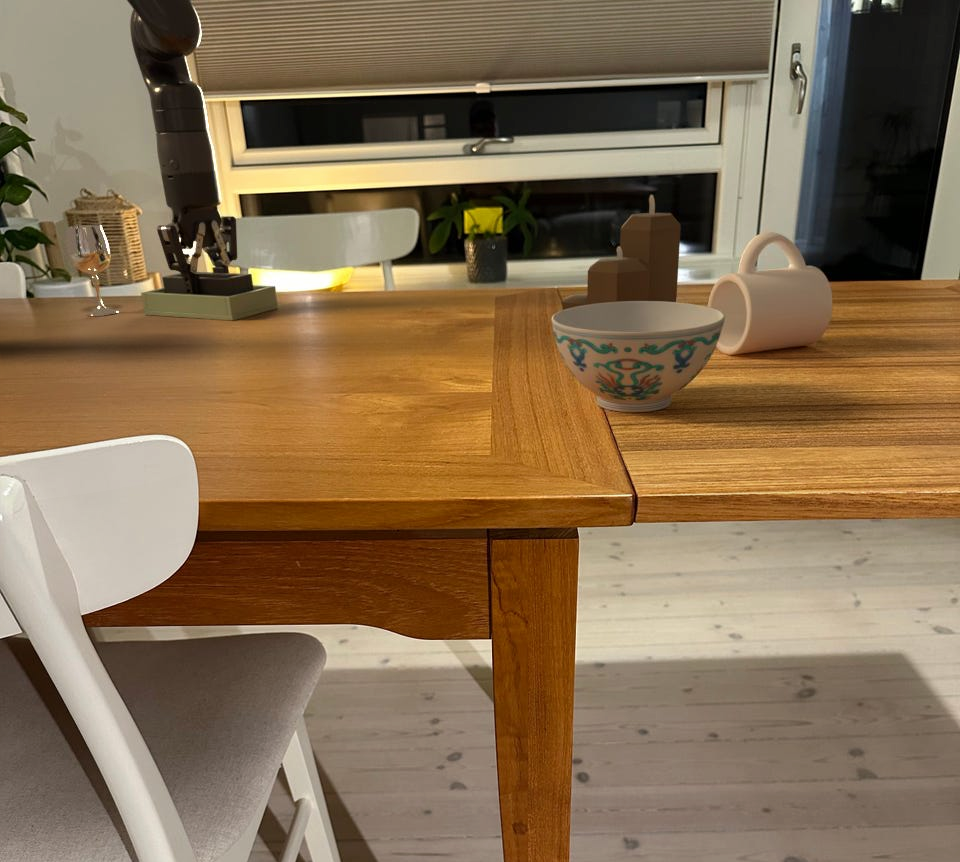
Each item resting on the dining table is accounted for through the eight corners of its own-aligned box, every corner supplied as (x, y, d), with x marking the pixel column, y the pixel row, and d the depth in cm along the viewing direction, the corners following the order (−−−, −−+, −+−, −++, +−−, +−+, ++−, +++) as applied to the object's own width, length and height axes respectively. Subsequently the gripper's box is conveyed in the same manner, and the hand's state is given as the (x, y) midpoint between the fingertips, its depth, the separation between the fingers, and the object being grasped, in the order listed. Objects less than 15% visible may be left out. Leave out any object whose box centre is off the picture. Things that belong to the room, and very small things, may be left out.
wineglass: (130, 311, 143) (113, 224, 137) (98, 318, 139) (78, 228, 133) (106, 308, 146) (88, 224, 140) (74, 315, 142) (54, 227, 136)
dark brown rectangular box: (166, 302, 140) (161, 276, 138) (192, 295, 144) (188, 271, 143) (230, 305, 135) (225, 279, 133) (255, 299, 139) (251, 273, 138)
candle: (647, 317, 124) (653, 190, 117) (703, 335, 113) (713, 196, 106) (551, 327, 120) (551, 197, 113) (599, 347, 109) (602, 203, 102)
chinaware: (601, 376, 97) (602, 296, 93) (743, 393, 89) (751, 307, 85) (520, 412, 86) (519, 323, 82) (674, 435, 78) (679, 338, 75)
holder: (145, 314, 140) (140, 292, 139) (193, 303, 148) (189, 282, 146) (232, 320, 133) (229, 297, 132) (278, 308, 141) (275, 286, 139)
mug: (827, 351, 103) (844, 231, 97) (746, 361, 100) (757, 238, 94) (781, 338, 110) (793, 225, 104) (703, 347, 107) (712, 232, 101)
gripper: (203, 166, 139) (222, 288, 147) (130, 172, 128) (155, 304, 136) (243, 165, 135) (261, 290, 144) (172, 171, 124) (195, 307, 132)
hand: (209, 296), depth 140 cm, fingers closed on dark brown rectangular box, 5 cm apart
